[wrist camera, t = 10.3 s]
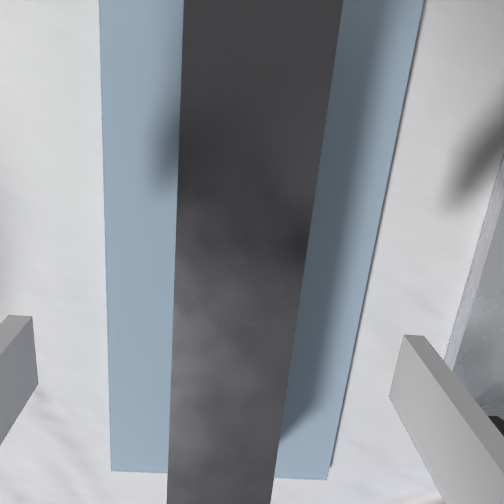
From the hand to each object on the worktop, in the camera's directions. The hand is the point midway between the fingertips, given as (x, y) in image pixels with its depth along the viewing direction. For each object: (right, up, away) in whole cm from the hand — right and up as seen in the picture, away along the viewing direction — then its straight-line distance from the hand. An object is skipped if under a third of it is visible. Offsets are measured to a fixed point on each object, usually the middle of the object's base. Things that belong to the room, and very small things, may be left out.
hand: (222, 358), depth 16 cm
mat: (0, +3, +7) cm, 7 cm away
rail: (0, +2, +6) cm, 7 cm away
